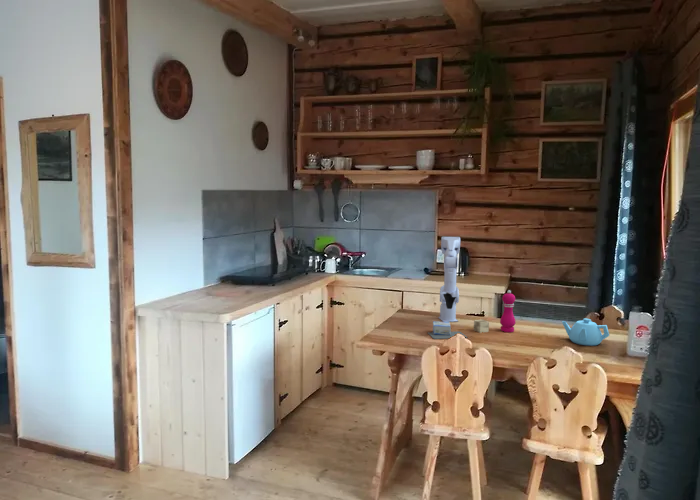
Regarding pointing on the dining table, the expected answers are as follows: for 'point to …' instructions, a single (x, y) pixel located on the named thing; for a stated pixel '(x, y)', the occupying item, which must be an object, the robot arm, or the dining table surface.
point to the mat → (444, 335)
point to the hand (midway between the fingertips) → (449, 308)
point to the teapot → (586, 332)
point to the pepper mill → (508, 313)
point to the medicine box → (441, 328)
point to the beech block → (481, 326)
